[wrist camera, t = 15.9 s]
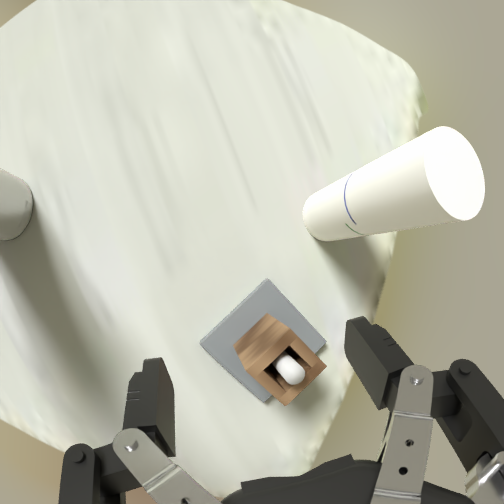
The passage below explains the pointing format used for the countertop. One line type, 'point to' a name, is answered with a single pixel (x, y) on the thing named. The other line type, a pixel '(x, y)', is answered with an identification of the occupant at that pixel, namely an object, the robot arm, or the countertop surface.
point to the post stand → (244, 319)
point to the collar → (268, 349)
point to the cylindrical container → (401, 190)
